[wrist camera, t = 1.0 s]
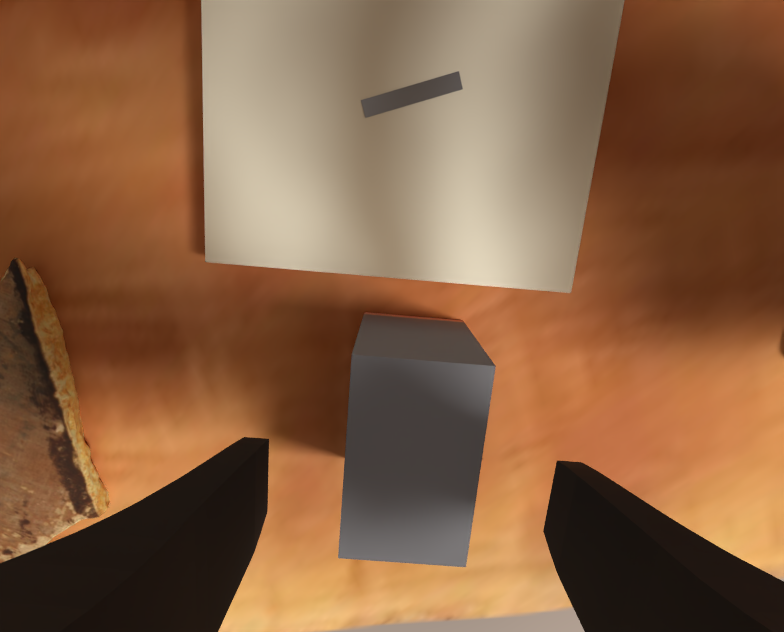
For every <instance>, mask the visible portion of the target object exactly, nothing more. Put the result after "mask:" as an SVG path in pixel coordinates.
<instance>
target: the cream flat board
mask: <svg viewBox="0 0 784 632" xmlns="http://www.w3.org/2000/svg"><path fill="white" fill-rule="evenodd" d="M624 1H625V0H201V14H202V79H203V145H204V210H205V262H211V263H222V264H234V265H246V266H258V267H270V268H282V269H293V270H305V271H317V272H329V273H341V274H352V275H364V276H376V277H388V278H400V279H411V280H423V281H435V282H447V283H459V284H471V285H482V286H494V287H506V288H518V289H530V290H541V291H553V292H565V293H571V290H572V285H573V279H574V274H575V268H576V263H577V257H578V252H579V246H580V241H581V236H582V230H583V225H584V219H585V214H586V208H587V203H588V197H589V192H590V186H591V181H592V175H593V170H594V165H595V159H596V154H597V148H598V143H599V137H600V132H601V126H602V121H603V115H604V110H605V105H606V99H607V94H608V88H609V83H610V77H611V72H612V66H613V61H614V55H615V50H616V44H617V39H618V34H619V28H620V23H621V17H622V12H623V6H624Z"/></svg>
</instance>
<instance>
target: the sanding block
mask: <svg viewBox="0 0 784 632" xmlns="http://www.w3.org/2000/svg"><path fill="white" fill-rule="evenodd" d="M495 367H496V366H495V365H494V363H493V362H492V361H491V359H490V358H489V356H488V355H487V354H486V352H485V351H484V349H483V348H482V347H481V345H480V344H479V342H478V341H477V340H476V338H475V337H474V335H473V334H472V333H471V331H470V330H469V328H468V327H467V326H466V324H465V323H464V321H463V320H453V319H441V318H429V317H417V316H405V315H393V314H381V313H369V312H364V315H363V319H362V322H361V325H360V329H359V332H358V335H357V339H356V342H355V345H354V349H353V352H352V358H351V373H350V389H349V404H348V419H347V434H346V449H345V464H344V479H343V494H342V509H341V524H340V539H339V555H338V558H344V559H358V560H372V561H386V562H400V563H414V564H428V565H443V566H457V567H466V562H467V556H468V549H469V542H470V535H471V529H472V522H473V515H474V508H475V502H476V495H477V488H478V481H479V475H480V468H481V461H482V454H483V448H484V441H485V434H486V427H487V421H488V414H489V407H490V400H491V394H492V387H493V380H494V373H495Z"/></svg>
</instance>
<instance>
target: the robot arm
mask: <svg viewBox="0 0 784 632" xmlns="http://www.w3.org/2000/svg"><path fill="white" fill-rule="evenodd" d="M268 457H269V439H261V438H248V437H244V438H242V439H240V440H238V441H237V442H235V443H233V444H232V445H230V446H229V447H227V448H226V449H224V450H223V451H221V452H220V453H218V454H216V455H215V456H213V457H212V458H210V459H209V460H207V461H206V462H204V463H203V464H201V465H199V466H198V467H196V468H195V469H193V470H192V471H190V472H188V473H187V474H185V475H184V476H182V477H180V478H179V479H177V480H175V481H174V482H172V483H170V484H168V485H167V486H165V487H163V488H162V489H160V490H158V491H156V492H155V493H153V494H151V495H149V496H148V497H146V498H144V499H143V500H141V501H139V502H137V503H135V504H133V505H131V506H130V507H128V508H126V509H124V510H122V511H120V512H118V513H116V514H114V515H112V516H110V517H108V518H106V519H104V520H101V521H99V522H97V523H95V524H93V525H91V526H89V527H87V528H85V529H82V530H80V531H78V532H76V533H73V534H71V535H69V536H66V537H64V538H61V539H59V540H56V541H54V542H52V543H49V544H47V545H44V546H42V547H39V548H37V549H35V550H32V551H30V552H27V553H25V554H22V555H20V556H18V557H15V558H12V559H10V560H7V561H4V562H2V563H0V632H218V630H219V628H220V626H221V624H222V622H223V620H224V617H225V615H226V613H227V611H228V609H229V607H230V604H231V602H232V600H233V598H234V596H235V594H236V591H237V589H238V587H239V585H240V583H241V580H242V578H243V576H244V574H245V572H246V569H247V567H248V565H249V563H250V561H251V558H252V556H253V554H254V551H255V548H256V545H257V542H258V539H259V536H260V533H261V530H262V527H263V524H264V521H265V517H266V514H267V504H268ZM544 534H545V537H546V541H547V544H548V547H549V550H550V553H551V556H552V559H553V562H554V565H555V568H556V571H557V573H558V576H559V578H560V580H561V582H562V584H563V586H564V589H565V591H566V593H567V595H568V597H569V599H570V601H571V604H572V606H573V608H574V610H575V612H576V614H577V616H578V618H579V620H580V622H581V625H582V627H583V629H584V631H585V632H784V581H782V580H780V579H778V578H776V577H774V576H772V575H770V574H768V573H766V572H764V571H762V570H760V569H758V568H757V567H755V566H753V565H751V564H749V563H747V562H745V561H743V560H741V559H739V558H737V557H736V556H734V555H732V554H730V553H728V552H727V551H725V550H723V549H721V548H720V547H718V546H716V545H714V544H713V543H711V542H709V541H708V540H706V539H704V538H703V537H701V536H699V535H697V534H696V533H694V532H692V531H691V530H689V529H687V528H686V527H684V526H682V525H681V524H679V523H678V522H676V521H674V520H673V519H671V518H669V517H668V516H666V515H665V514H663V513H662V512H660V511H658V510H657V509H655V508H654V507H652V506H651V505H649V504H648V503H646V502H644V501H643V500H641V499H640V498H638V497H637V496H635V495H634V494H632V493H631V492H629V491H627V490H626V489H624V488H623V487H621V486H620V485H618V484H617V483H615V482H614V481H612V480H611V479H609V478H607V477H606V476H604V475H603V474H601V473H599V472H598V471H596V470H594V469H593V468H591V467H589V466H587V465H585V464H583V463H581V462H569V461H557V463H556V468H555V474H554V479H553V484H552V489H551V494H550V500H549V505H548V510H547V515H546V520H545V526H544Z"/></svg>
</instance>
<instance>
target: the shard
mask: <svg viewBox="0 0 784 632" xmlns="http://www.w3.org/2000/svg"><path fill="white" fill-rule="evenodd" d="M90 455H91V452H90V448H89V447H88V445H87V444H86V443H85V440H84V433H83V425H82V421H81V417H80V409H79V399H78V395H77V391H76V389H75V383H74V377H73V374H72V372H71V368H70V361H69V356H68V353H67V351H66V348H65V340H64V338H63V330H62V328H61V326H60V323H59V320H58V318H57V315H56V311H55V309H54V308H53V306H52V305H51V302H50V299H49V296H48V291H47V288H46V286H45V285H44V283H43V281H42V279H41V277H40V276H39V274H38V273H37V272H36V270H35V268H34V267H31V268H28V269H26V267H25V264H24V263H23V262H22V261H21V260H20V259H19V258H14V259H13V260H12V261H11V264H10V266H9V268H8V269H7V271H6V273H5V275H4V277H3V278H2V279H1V281H0V563H2V562H4V561H7V560H10V559H12V558H15V557H18V556H20V555H22V554H25V553H27V552H30V551H32V550H35V549H37V548H39V547H42V546H44V545H46V544H47V543H48V542H49V541H50V540H51V539H52V538H53V537H54V536H56V535H57V534H59V533H61V532H63V531H64V530H66V529H67V528H69V527H70V526H73V525H74V524H76V523H77V522H78V521H80V520H82V519H88V518H96V517H99V516H101V515H102V514H103V513H104V512H105V511H106V510H107V509H108V504H109V502H110V501H109V494H108V491H107V489H106V488H105V486H104V485H103V483H102V481H101V480H100V478H99V474H98V471H97V470H96V468H95V466H94V465H93V463H92V461H91V459H90Z"/></svg>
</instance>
